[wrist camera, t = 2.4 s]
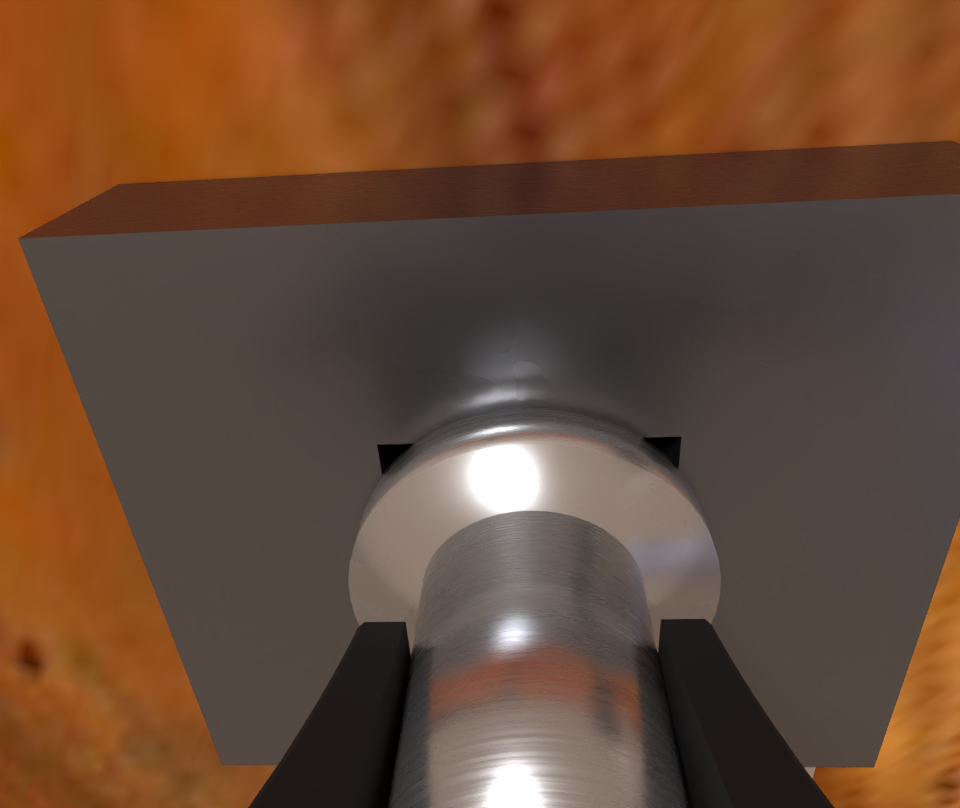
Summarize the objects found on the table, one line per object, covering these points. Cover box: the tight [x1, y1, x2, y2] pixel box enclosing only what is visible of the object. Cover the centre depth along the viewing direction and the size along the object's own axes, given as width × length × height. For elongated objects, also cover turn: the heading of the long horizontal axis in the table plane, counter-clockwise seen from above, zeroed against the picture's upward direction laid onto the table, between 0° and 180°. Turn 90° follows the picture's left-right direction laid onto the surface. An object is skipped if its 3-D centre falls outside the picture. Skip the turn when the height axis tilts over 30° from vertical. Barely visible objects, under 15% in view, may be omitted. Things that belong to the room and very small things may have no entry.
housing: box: [18, 141, 960, 767], centre depth 14 cm, size 14×12×3 cm
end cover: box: [348, 408, 721, 808], centre depth 11 cm, size 6×6×9 cm
